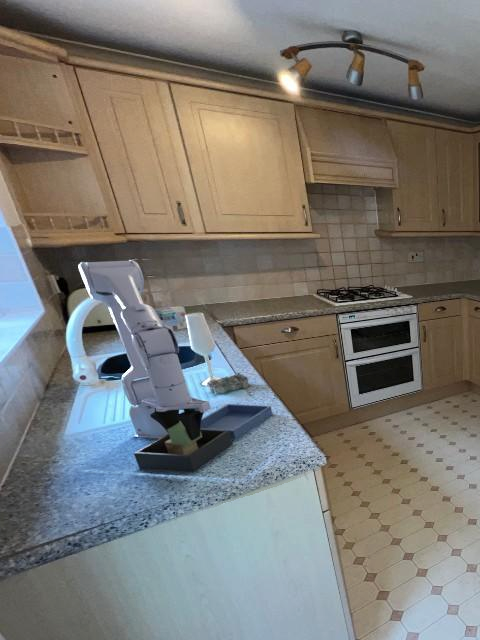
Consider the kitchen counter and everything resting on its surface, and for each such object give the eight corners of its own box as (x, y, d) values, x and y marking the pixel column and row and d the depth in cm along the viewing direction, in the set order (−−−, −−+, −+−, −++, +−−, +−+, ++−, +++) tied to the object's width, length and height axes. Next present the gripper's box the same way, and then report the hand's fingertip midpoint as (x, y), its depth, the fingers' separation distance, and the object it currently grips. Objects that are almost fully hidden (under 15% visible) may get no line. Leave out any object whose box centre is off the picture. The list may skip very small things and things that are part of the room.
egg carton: (216, 396, 130) (213, 384, 129) (207, 390, 134) (204, 379, 133) (252, 386, 138) (249, 375, 137) (242, 381, 142) (240, 370, 141)
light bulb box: (168, 332, 202) (161, 310, 198) (159, 330, 204) (152, 309, 200) (190, 327, 211) (184, 306, 207) (182, 326, 213) (176, 305, 209)
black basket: (140, 470, 92) (133, 453, 90) (184, 443, 103) (179, 427, 101) (194, 473, 91) (189, 456, 89) (233, 445, 102) (229, 430, 100)
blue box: (188, 438, 105) (184, 428, 104) (230, 413, 119) (227, 403, 118) (236, 441, 104) (233, 430, 103) (272, 415, 118) (270, 406, 117)
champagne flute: (221, 384, 140) (202, 315, 131) (198, 386, 138) (178, 317, 129) (227, 377, 145) (209, 311, 137) (205, 379, 143) (186, 312, 134)
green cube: (172, 444, 92) (167, 429, 91) (186, 436, 96) (181, 421, 94) (188, 445, 92) (183, 430, 90) (202, 436, 96) (198, 421, 94)
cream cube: (169, 456, 96) (164, 442, 95) (183, 448, 100) (178, 434, 98) (185, 457, 96) (180, 443, 94) (198, 449, 99) (194, 434, 98)
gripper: (120, 388, 85) (141, 444, 90) (184, 391, 84) (202, 447, 89) (150, 376, 92) (168, 429, 97) (210, 379, 91) (225, 432, 96)
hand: (186, 437), depth 94 cm, fingers closed on green cube, 4 cm apart
